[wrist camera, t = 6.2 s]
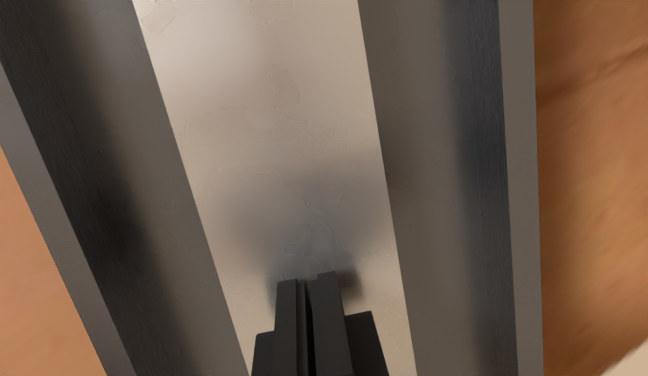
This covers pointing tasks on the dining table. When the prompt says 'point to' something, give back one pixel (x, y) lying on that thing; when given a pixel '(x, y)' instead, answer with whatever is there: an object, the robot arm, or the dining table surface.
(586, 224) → the dining table surface
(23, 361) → the dining table surface
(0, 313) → the dining table surface
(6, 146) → the gray stepped base tray
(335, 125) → the lever
